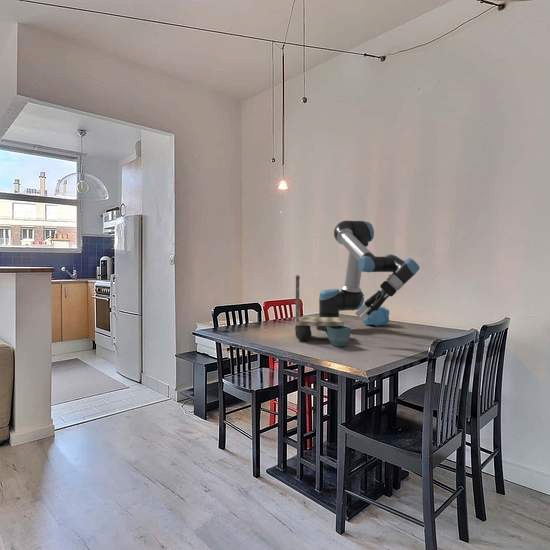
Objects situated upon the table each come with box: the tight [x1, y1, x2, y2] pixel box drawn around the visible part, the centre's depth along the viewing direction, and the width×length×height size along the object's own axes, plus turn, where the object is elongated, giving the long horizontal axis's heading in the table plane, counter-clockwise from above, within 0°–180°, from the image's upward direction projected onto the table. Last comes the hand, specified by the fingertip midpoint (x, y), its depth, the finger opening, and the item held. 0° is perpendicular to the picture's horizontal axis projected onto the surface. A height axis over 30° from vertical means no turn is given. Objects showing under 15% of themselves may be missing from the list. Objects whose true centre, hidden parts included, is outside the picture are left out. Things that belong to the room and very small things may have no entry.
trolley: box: [294, 274, 345, 342], centre depth 208 cm, size 24×16×33 cm, turn 88°
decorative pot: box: [361, 305, 391, 327], centre depth 251 cm, size 16×16×14 cm
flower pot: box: [326, 325, 352, 348], centre depth 191 cm, size 9×9×9 cm
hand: (359, 317), depth 190 cm, fingers open, 13 cm apart
